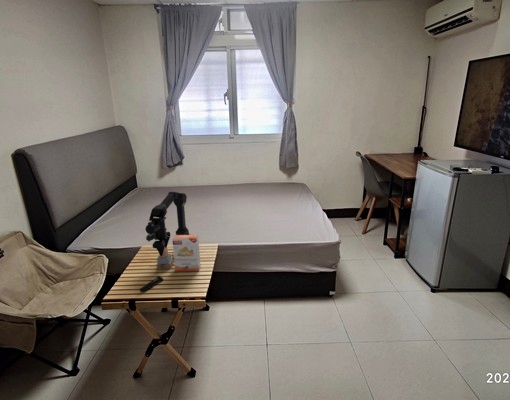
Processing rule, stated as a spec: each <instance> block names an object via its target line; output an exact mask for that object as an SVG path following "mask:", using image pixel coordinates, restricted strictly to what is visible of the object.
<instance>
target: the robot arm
mask: <svg viewBox="0 0 510 400" xmlns="http://www.w3.org/2000/svg"><path fill="white" fill-rule="evenodd" d="M187 199H188V198H187V194H186V193H184V192H178V191H169V192H168V194H167V195H166V197H164V199H163V200H162V201H161V202H160V204H157V205H155V206H154V207H152V209H151V211H150V216H149V219H148V222H147V225H146V226H145V232H146V233H147V235H146V236H145V239H146V240H145V241H147V242H151V241H153V240H155V241H154V242H152V245H151V246H152V248H153V249H156V251H158V255H159V254H160V256H162V255H163V252H164V248H165V247H167V248H168V245H169V242H170V240H171V239H170V238H171V232H170V231H167V228H166V222H165V221H166V219H167V216H166V215H167V214H168V208H170V206H171V205H172V204H174V205H175V207H176V216H177V229H176V230H175V235H191V234H190V232H189V229H188V227H187V224H186V214H185V213H186V212H185V205H186V203H187Z"/></svg>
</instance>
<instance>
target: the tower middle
mask: <svg viewBox="0 0 510 400" xmlns="http://www.w3.org/2000/svg"><path fill="white" fill-rule="evenodd" d="M171 258H172V255H171V253H168V257H166V258H160V256H159V255H158V257H157V258H156V261H157V263H158V264H169V262H170V260H171Z"/></svg>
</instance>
